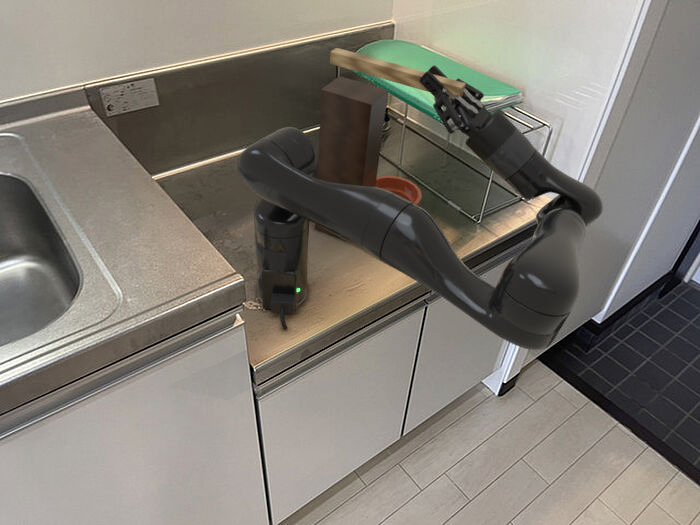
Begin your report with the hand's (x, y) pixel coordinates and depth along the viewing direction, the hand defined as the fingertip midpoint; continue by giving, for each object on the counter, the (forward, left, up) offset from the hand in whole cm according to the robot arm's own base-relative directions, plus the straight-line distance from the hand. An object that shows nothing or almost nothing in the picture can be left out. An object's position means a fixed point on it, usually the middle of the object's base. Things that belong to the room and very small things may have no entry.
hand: (426, 72), depth 89 cm
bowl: (+12, +1, -38) cm, 40 cm away
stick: (+2, +5, -3) cm, 6 cm away
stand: (+5, +11, -38) cm, 41 cm away
